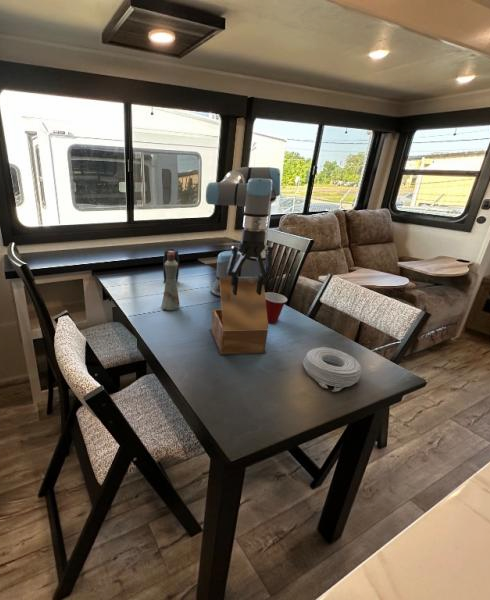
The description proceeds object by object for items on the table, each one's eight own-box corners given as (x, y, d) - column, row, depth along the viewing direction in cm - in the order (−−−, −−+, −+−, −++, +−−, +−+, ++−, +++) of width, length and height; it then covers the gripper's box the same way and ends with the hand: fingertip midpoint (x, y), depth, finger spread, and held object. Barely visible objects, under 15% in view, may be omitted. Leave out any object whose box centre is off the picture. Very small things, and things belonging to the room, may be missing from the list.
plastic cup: (284, 327, 136) (289, 302, 131) (259, 324, 138) (263, 299, 133) (282, 316, 146) (286, 293, 141) (258, 314, 147) (261, 290, 143)
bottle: (157, 307, 152) (157, 251, 141) (170, 302, 158) (171, 248, 147) (170, 313, 146) (171, 255, 135) (183, 307, 152) (184, 251, 141)
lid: (219, 278, 115) (224, 272, 108) (262, 278, 117) (270, 271, 110) (223, 330, 111) (228, 327, 104) (267, 329, 113) (276, 326, 105)
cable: (331, 396, 95) (335, 380, 92) (290, 365, 110) (293, 350, 107) (370, 382, 101) (375, 367, 99) (327, 354, 116) (330, 340, 114)
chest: (211, 330, 132) (212, 309, 128) (249, 329, 133) (251, 308, 130) (221, 354, 115) (223, 331, 111) (264, 353, 116) (268, 330, 113)
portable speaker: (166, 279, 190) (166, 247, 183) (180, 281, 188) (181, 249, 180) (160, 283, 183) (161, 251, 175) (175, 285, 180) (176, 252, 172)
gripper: (225, 231, 97) (220, 298, 106) (290, 231, 99) (279, 297, 108) (220, 226, 104) (215, 290, 113) (280, 227, 106) (271, 289, 115)
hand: (246, 293), depth 110 cm, fingers closed on lid, 8 cm apart
